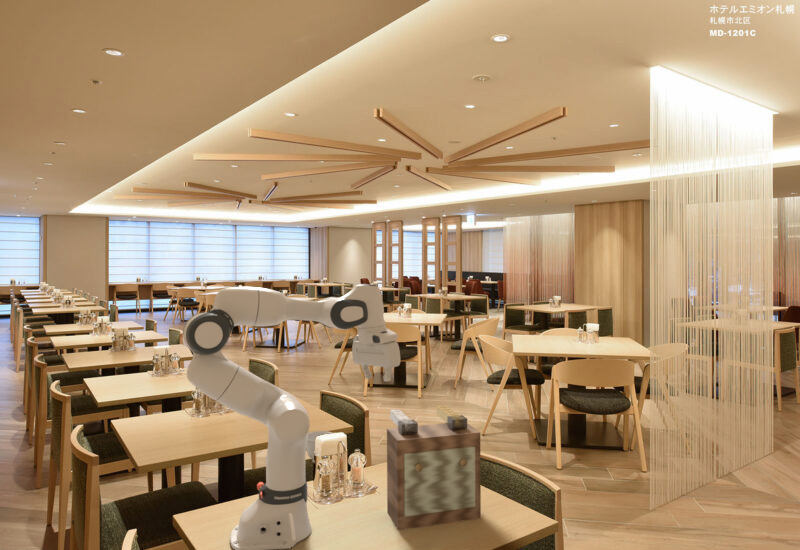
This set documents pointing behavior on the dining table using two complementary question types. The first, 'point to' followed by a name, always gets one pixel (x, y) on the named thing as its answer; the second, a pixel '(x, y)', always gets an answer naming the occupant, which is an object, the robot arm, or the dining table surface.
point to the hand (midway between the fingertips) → (377, 379)
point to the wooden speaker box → (433, 476)
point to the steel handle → (403, 422)
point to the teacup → (313, 442)
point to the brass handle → (451, 418)
